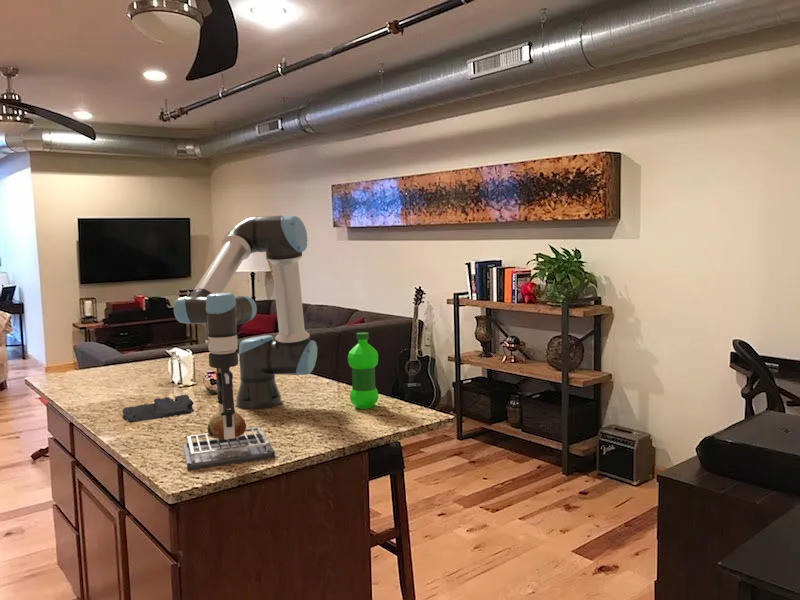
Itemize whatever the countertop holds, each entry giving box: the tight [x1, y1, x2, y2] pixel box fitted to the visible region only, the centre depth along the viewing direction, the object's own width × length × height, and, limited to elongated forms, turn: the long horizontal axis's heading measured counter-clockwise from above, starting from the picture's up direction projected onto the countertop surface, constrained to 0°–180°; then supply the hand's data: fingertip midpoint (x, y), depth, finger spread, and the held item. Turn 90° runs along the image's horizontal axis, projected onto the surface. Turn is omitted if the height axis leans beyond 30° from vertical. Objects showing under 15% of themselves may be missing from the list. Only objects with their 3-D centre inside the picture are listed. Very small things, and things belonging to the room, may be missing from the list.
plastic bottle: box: [347, 331, 379, 410], centre depth 223 cm, size 10×10×25 cm
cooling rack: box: [182, 426, 276, 471], centre depth 180 cm, size 18×22×4 cm
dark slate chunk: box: [122, 394, 195, 423], centre depth 223 cm, size 15×22×5 cm
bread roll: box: [207, 411, 247, 439], centre depth 180 cm, size 10×10×8 cm
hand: (227, 432), depth 180 cm, fingers closed on bread roll, 10 cm apart
